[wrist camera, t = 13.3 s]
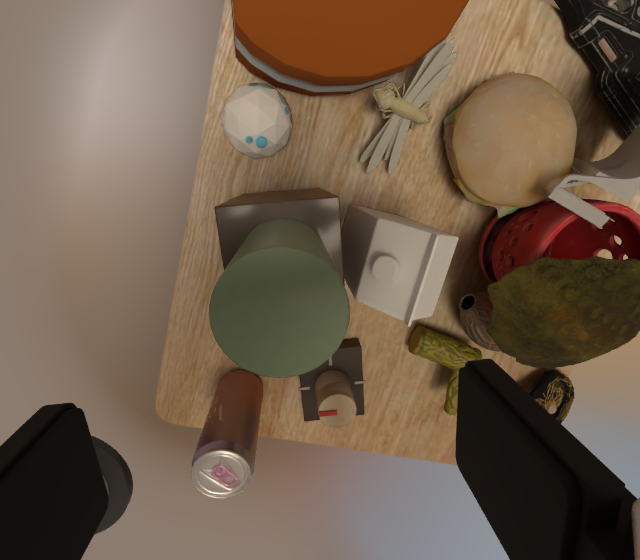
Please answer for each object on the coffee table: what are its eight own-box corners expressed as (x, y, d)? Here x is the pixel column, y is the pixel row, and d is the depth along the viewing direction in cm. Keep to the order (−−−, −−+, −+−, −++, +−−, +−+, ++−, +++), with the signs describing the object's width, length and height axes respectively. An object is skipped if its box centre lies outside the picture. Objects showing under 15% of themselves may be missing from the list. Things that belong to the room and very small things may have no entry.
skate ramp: (760, 70, 25) (688, 35, 26) (601, 228, 32) (548, 197, 33) (677, 86, 38) (630, 62, 39) (575, 198, 45) (537, 175, 46)
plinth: (325, 262, 46) (346, 312, 30) (252, 269, 45) (231, 323, 29) (320, 187, 43) (339, 196, 27) (242, 193, 43) (214, 206, 27)
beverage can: (239, 415, 51) (219, 510, 36) (208, 386, 49) (175, 474, 35) (272, 389, 50) (265, 476, 36) (242, 359, 48) (222, 437, 34)
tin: (330, 299, 29) (353, 370, 19) (245, 307, 29) (219, 385, 18) (324, 214, 27) (346, 240, 17) (233, 222, 27) (197, 253, 16)
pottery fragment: (479, 358, 42) (488, 390, 39) (488, 258, 33) (501, 290, 30) (615, 351, 39) (636, 386, 36) (665, 241, 30) (700, 274, 27)
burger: (552, 88, 42) (597, 40, 34) (562, 215, 41) (611, 195, 33) (437, 99, 43) (455, 54, 35) (444, 222, 42) (465, 205, 34)
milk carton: (404, 217, 45) (483, 246, 27) (388, 272, 47) (452, 335, 29) (348, 203, 44) (391, 224, 26) (333, 260, 46) (363, 318, 28)
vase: (547, 344, 42) (502, 311, 39) (493, 367, 46) (447, 339, 43) (527, 298, 47) (486, 265, 43) (480, 322, 51) (438, 294, 47)
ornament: (263, 141, 44) (229, 181, 39) (232, 79, 39) (189, 115, 35) (312, 130, 40) (281, 172, 36) (284, 60, 36) (244, 98, 31)
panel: (363, 403, 52) (366, 415, 49) (301, 410, 51) (302, 422, 49) (359, 337, 49) (363, 346, 46) (294, 344, 49) (295, 353, 46)
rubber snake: (497, 497, 52) (460, 451, 50) (479, 472, 56) (445, 429, 54) (605, 421, 51) (572, 370, 48) (578, 403, 55) (548, 355, 53)
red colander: (464, 298, 48) (519, 337, 37) (475, 194, 45) (539, 202, 33) (559, 295, 49) (641, 331, 38) (578, 193, 46) (675, 200, 34)
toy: (374, 161, 47) (399, 185, 44) (325, 150, 40) (353, 177, 38) (452, 39, 39) (488, 60, 37) (408, 0, 32) (448, 23, 30)
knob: (348, 368, 47) (356, 394, 42) (349, 398, 48) (357, 427, 43) (314, 371, 47) (317, 398, 41) (316, 401, 48) (319, 431, 43)
